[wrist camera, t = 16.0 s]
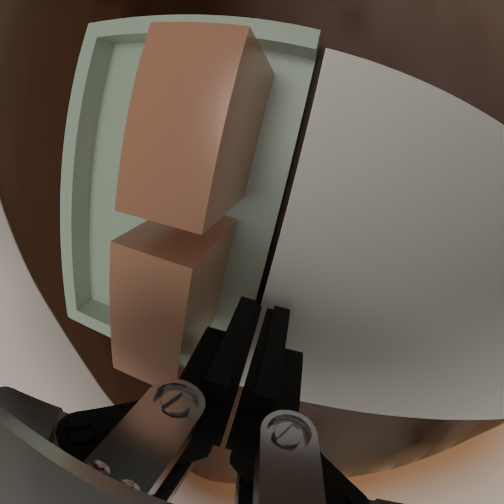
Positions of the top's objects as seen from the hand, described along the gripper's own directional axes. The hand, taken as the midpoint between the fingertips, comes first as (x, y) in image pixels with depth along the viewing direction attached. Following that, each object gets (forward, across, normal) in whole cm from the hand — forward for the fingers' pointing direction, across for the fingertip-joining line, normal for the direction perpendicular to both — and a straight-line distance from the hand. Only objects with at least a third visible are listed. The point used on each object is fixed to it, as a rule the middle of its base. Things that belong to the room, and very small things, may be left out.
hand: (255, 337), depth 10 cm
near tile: (+1, +2, -6) cm, 7 cm away
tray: (+4, +5, -3) cm, 7 cm away
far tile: (+1, +2, 0) cm, 2 cm away
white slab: (+4, -9, -3) cm, 10 cm away
